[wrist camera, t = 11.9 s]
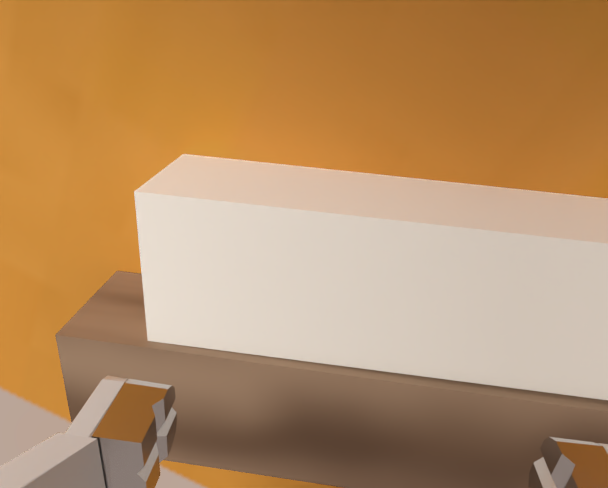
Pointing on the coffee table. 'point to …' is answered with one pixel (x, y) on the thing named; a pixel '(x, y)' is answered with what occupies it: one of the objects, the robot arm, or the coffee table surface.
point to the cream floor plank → (378, 272)
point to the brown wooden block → (320, 409)
